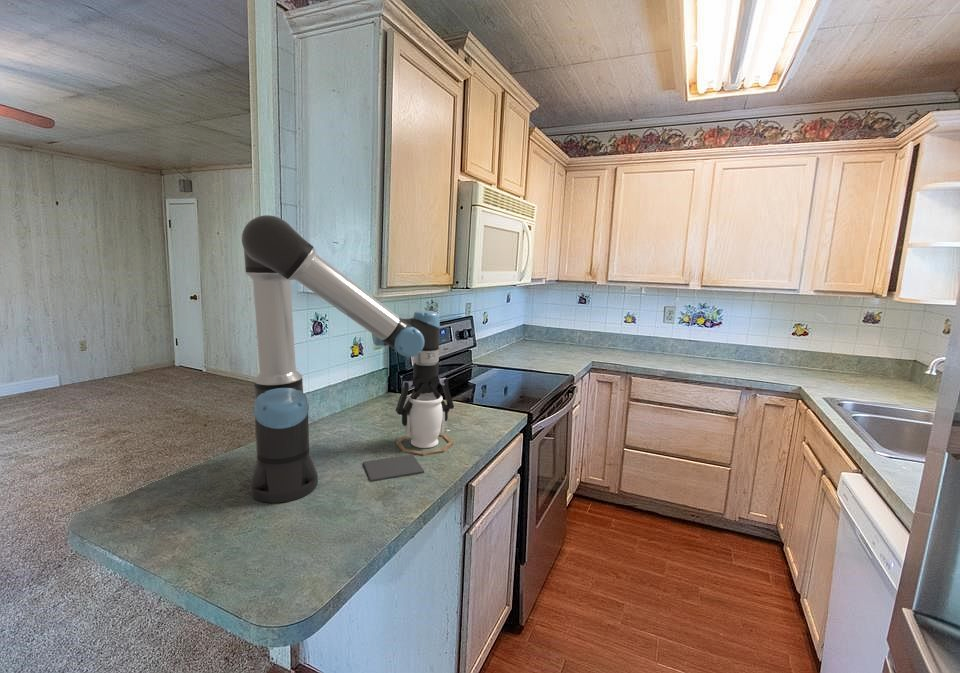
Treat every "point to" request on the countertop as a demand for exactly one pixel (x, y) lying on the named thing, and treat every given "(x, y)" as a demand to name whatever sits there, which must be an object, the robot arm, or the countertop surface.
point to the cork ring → (427, 451)
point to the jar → (425, 420)
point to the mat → (392, 467)
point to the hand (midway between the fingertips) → (424, 432)
